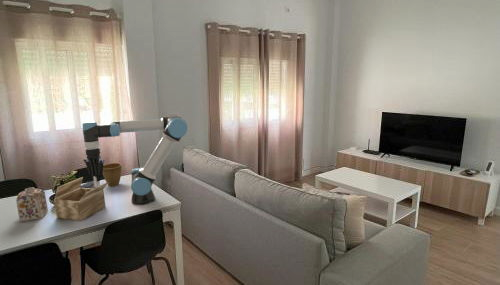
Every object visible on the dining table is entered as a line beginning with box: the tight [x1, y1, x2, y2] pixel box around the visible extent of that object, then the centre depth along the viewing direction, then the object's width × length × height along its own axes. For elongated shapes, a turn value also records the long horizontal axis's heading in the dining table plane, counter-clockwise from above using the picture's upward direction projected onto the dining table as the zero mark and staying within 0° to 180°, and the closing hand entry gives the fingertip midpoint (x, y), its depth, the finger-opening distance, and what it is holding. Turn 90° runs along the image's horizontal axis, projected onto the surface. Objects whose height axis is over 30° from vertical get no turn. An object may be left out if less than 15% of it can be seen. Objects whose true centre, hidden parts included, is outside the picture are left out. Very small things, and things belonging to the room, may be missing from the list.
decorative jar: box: [15, 186, 49, 222], centre depth 184 cm, size 12×12×18 cm
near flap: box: [80, 182, 109, 201], centre depth 184 cm, size 8×19×1 cm
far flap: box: [54, 176, 84, 199], centre depth 188 cm, size 8×19×1 cm
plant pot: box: [102, 162, 123, 188], centre depth 237 cm, size 15×15×16 cm
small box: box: [80, 181, 96, 189], centre depth 212 cm, size 11×6×10 cm, turn 168°
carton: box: [53, 188, 107, 222], centre depth 189 cm, size 18×21×12 cm
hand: (97, 186), depth 183 cm, fingers closed
